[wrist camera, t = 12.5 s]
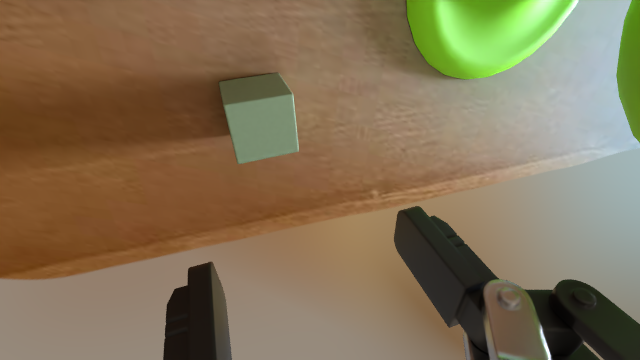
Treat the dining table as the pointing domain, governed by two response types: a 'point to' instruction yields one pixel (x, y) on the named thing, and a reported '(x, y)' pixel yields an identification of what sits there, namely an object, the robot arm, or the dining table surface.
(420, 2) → the wineglass
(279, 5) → the dining table surface
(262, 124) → the block
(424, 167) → the dining table surface
